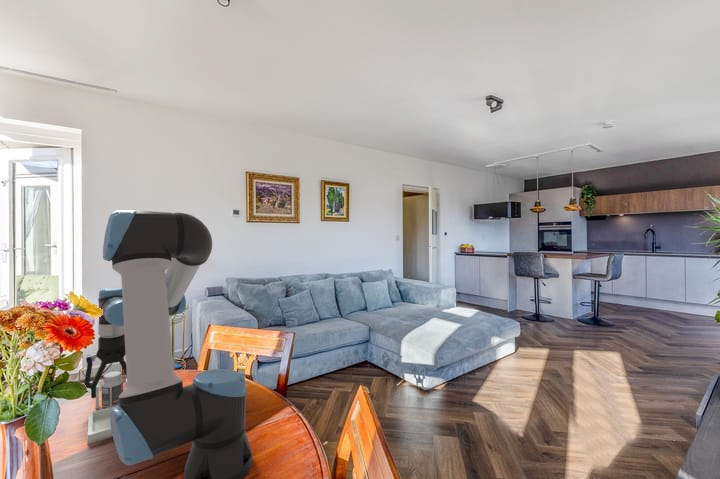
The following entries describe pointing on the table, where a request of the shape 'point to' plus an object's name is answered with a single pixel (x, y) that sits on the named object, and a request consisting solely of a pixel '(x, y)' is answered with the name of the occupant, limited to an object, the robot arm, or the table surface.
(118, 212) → the robot arm
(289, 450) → the table surface
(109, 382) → the pill bottle
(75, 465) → the table surface
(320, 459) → the table surface
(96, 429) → the tray
